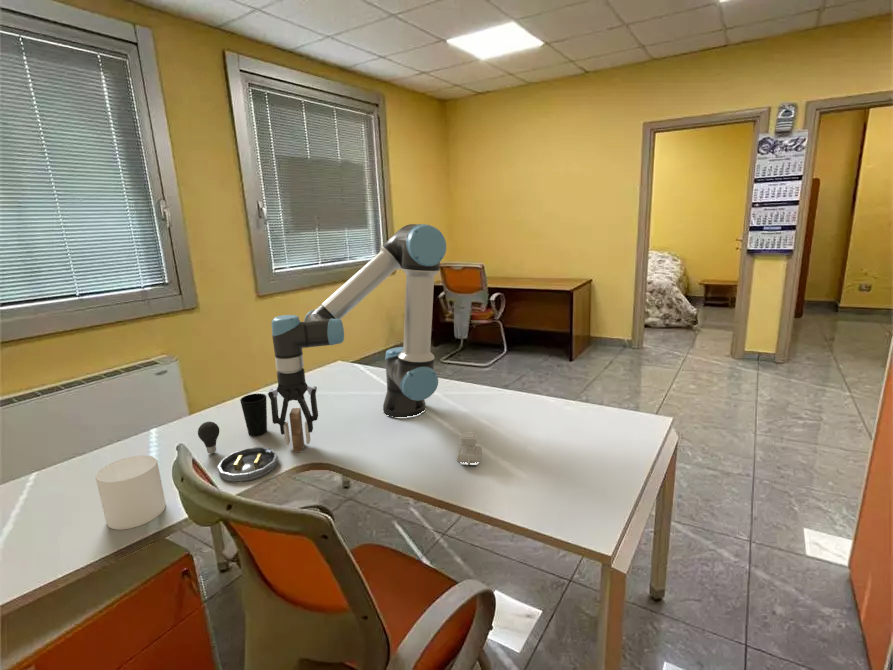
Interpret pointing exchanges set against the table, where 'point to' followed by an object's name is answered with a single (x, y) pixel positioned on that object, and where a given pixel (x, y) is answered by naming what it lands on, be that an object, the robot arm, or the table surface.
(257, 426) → the cup
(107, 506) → the cup
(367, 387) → the table surface
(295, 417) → the tapered wood plank
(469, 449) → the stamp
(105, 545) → the table surface
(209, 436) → the light bulb
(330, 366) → the table surface
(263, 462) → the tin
